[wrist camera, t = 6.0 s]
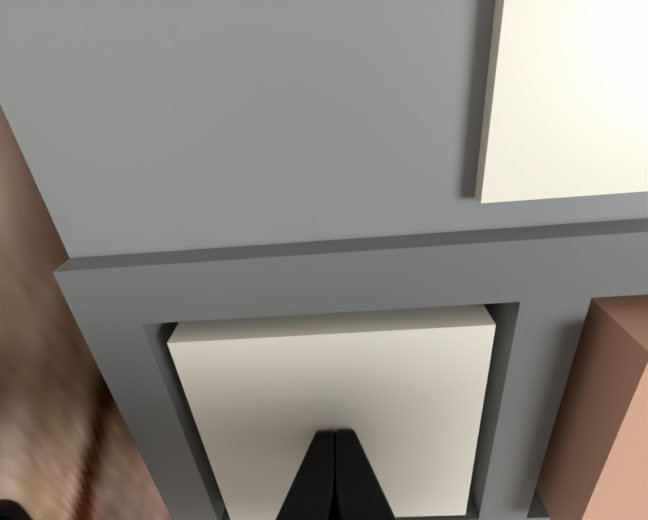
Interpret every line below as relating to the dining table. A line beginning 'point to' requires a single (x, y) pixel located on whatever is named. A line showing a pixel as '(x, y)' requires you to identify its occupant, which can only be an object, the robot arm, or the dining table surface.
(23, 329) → the dining table surface
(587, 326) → the terracotta key
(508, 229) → the keypad
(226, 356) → the ivory key
